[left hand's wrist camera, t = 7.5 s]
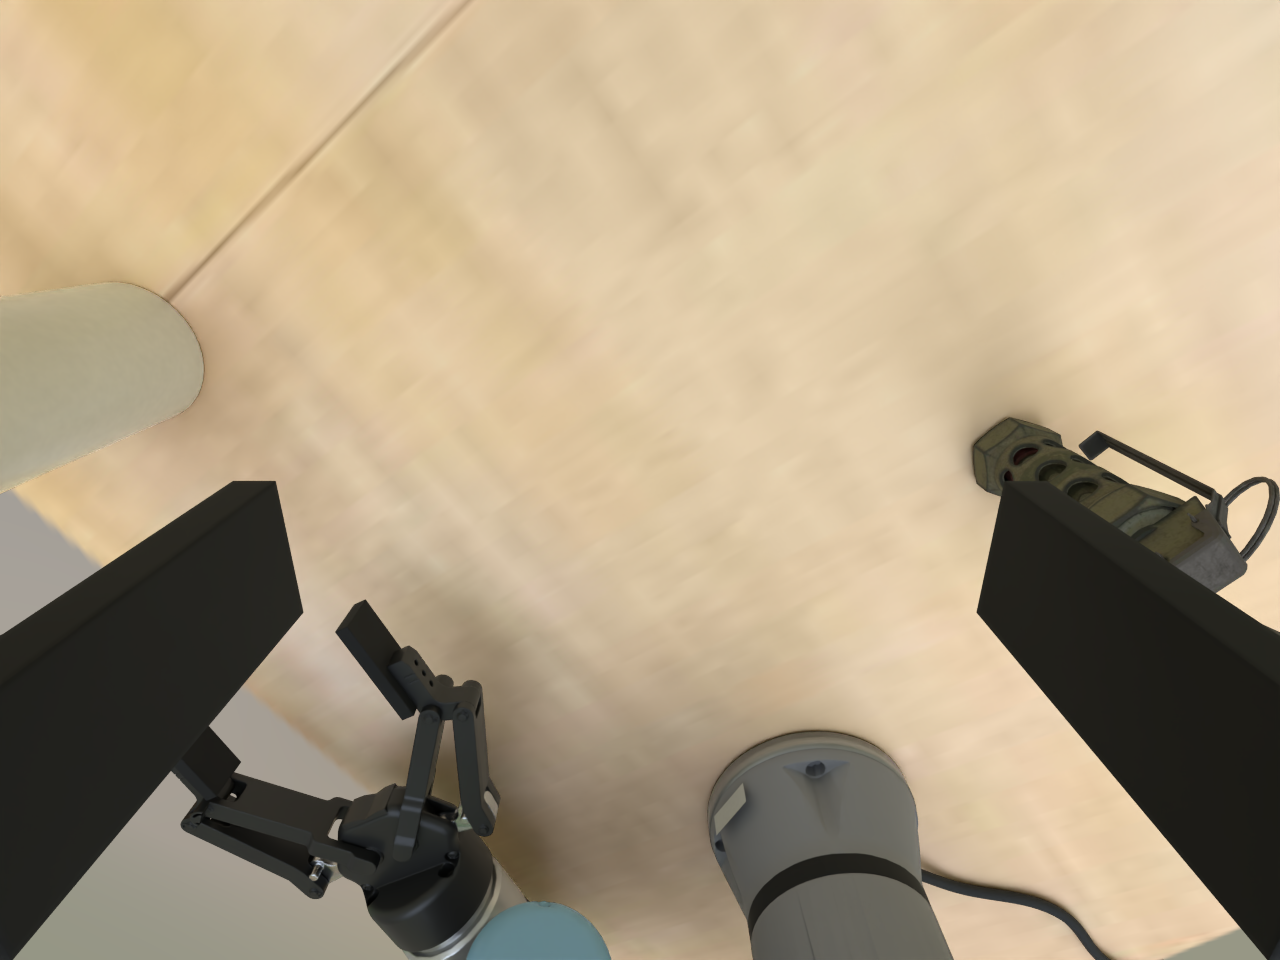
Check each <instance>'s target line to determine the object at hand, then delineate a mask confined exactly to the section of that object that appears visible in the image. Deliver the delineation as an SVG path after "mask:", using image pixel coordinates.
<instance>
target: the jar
mask: <svg viewBox="0 0 1280 960" xmlns="http://www.w3.org/2000/svg"><path fill="white" fill-rule="evenodd" d="M203 376H204V362H203V357H202V352H201V349H200V346H199V343H198V341H197V338H196V336H195V334H194V333H193V331H192V329H191V327H190V326H189V325H188V323H187V322H186V320H185V319H184V318H183V317H182V316H181V315H180V313H179V312H178V311H177V310H176V309H175V308H173V307H172V306H171V305H170V304H169V303H168V302H166V301H165V300H164V299H162V298H161V297H159V296H157V295H156V294H154V293H152V292H150V291H148V290H146V289H144V288H141V287H138V286H135V285H132V284H127V283H122V282H103V283H95V284H87V285H80V286H73V287H65V288H58V289H50V290H43V291H35V292H28V293H20V294H13V295H6V296H0V494H1V493H3V492H6V491H8V490H10V489H12V488H15V487H17V486H19V485H21V484H24V483H26V482H28V481H30V480H33V479H35V478H37V477H39V476H42V475H44V474H46V473H48V472H51V471H53V470H55V469H58V468H60V467H62V466H64V465H67V464H69V463H71V462H73V461H76V460H78V459H80V458H82V457H85V456H87V455H89V454H91V453H94V452H96V451H98V450H100V449H103V448H105V447H107V446H109V445H112V444H114V443H116V442H118V441H121V440H123V439H125V438H127V437H130V436H132V435H134V434H136V433H139V432H141V431H143V430H145V429H148V428H150V427H152V426H155V425H157V424H159V423H161V422H164V421H166V420H168V419H170V418H173V417H175V416H177V415H179V414H180V413H182V412H183V411H185V410H186V409H187V408H189V406H190V405H191V404H192V403H193V402H194V401H195V399H196V397H197V396H198V394H199V391H200V389H201V386H202V382H203Z"/></svg>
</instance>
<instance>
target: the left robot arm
mask: <svg viewBox="0 0 1280 960" xmlns="http://www.w3.org/2000/svg"><path fill="white" fill-rule="evenodd" d="M302 614H303V608H302V604H301V599H300V594H299V589H298V585H297V580H296V575H295V570H294V566H293V561H292V556H291V552H290V547H289V542H288V537H287V533H286V528H285V523H284V518H283V514H282V509H281V504H280V500H279V495H278V490H277V485H276V481H232V482H231V483H229V484H228V485H226V486H225V487H223V488H222V489H220V490H219V491H217V492H216V493H214V494H213V495H211V496H210V497H208V498H207V499H205V500H204V501H202V502H201V503H199V504H198V505H196V506H195V507H193V508H192V509H190V510H189V511H187V512H186V513H184V514H183V515H181V516H180V517H178V518H177V519H175V520H174V521H172V522H171V523H169V524H168V525H166V526H165V527H163V528H162V529H160V530H159V531H157V532H156V533H154V534H153V535H151V536H150V537H148V538H147V539H145V540H144V541H142V542H141V543H139V544H138V545H136V546H135V547H133V548H132V549H130V550H129V551H127V552H126V553H124V554H123V555H121V556H120V557H118V558H117V559H115V560H114V561H112V562H111V563H109V564H108V565H106V566H105V567H103V568H102V569H100V570H99V571H97V572H96V573H94V574H93V575H91V576H90V577H88V578H87V579H85V580H84V581H82V582H81V583H79V584H78V585H76V586H75V587H73V588H72V589H70V590H69V591H67V592H66V593H64V594H63V595H61V596H60V597H58V598H57V599H55V600H54V601H52V602H51V603H49V604H48V605H46V606H45V607H43V608H41V609H40V610H39V611H37V612H35V613H34V614H33V615H31V616H29V617H28V618H26V619H25V620H23V621H22V622H20V623H19V624H17V625H16V626H14V627H13V628H11V629H10V630H8V631H7V632H5V633H4V634H2V635H0V960H13V959H14V958H15V956H16V955H17V954H18V953H19V952H20V950H21V949H22V948H23V947H24V946H25V944H26V943H27V942H28V941H29V940H30V938H31V937H32V936H33V935H34V934H35V933H36V931H37V930H38V929H39V928H40V926H41V925H42V924H43V923H44V922H45V921H46V919H47V918H48V917H49V916H50V915H51V913H52V912H53V911H54V910H55V909H56V907H57V906H58V905H59V904H60V903H61V901H62V900H63V899H64V898H65V897H66V895H67V894H68V893H69V892H70V891H71V890H72V888H73V887H74V886H75V885H76V884H77V882H78V881H79V880H80V879H81V878H82V876H83V875H84V874H85V873H86V872H87V870H88V869H89V868H90V867H91V866H92V864H93V863H94V862H95V861H96V860H97V858H98V857H99V856H100V855H101V854H102V852H103V851H104V850H105V849H106V848H107V846H108V845H109V844H110V843H111V842H112V841H113V839H114V838H115V837H116V836H117V835H118V833H119V832H120V831H121V830H122V829H123V827H124V826H125V825H126V824H127V823H128V821H129V820H130V819H131V818H132V817H133V815H134V814H135V813H136V812H137V811H138V809H139V808H140V807H141V806H142V805H143V803H144V802H145V801H146V800H147V799H148V797H149V796H150V795H151V794H152V793H153V792H154V790H155V789H156V788H157V787H158V786H159V784H160V783H161V782H162V781H163V780H164V778H165V777H166V776H167V775H168V774H169V772H170V771H171V770H172V769H173V768H174V766H175V765H176V764H177V763H178V762H179V760H180V759H181V758H182V757H183V756H184V755H185V753H186V752H187V751H188V750H189V749H190V747H191V746H192V745H193V744H194V743H195V741H196V740H197V739H198V738H199V737H200V735H201V734H202V733H203V732H204V731H205V729H206V728H207V727H208V726H209V725H210V723H211V722H212V721H213V720H214V719H215V717H216V716H217V715H218V714H219V713H220V712H221V710H222V709H223V708H224V707H225V706H226V704H227V703H228V702H229V701H230V699H231V698H232V697H233V696H234V695H235V694H236V692H237V691H238V690H239V689H240V688H241V686H242V685H243V684H244V683H245V682H246V680H247V679H248V678H249V677H250V676H251V674H252V673H253V672H254V671H255V670H256V668H257V667H258V666H259V665H260V664H261V663H262V661H263V660H264V659H265V658H266V657H267V655H268V654H269V653H270V652H271V651H272V649H273V648H274V647H275V646H276V645H277V643H278V642H279V641H280V640H281V639H282V637H283V636H284V635H285V634H286V633H287V631H288V630H289V629H290V628H291V627H292V625H293V624H294V623H295V622H296V621H297V620H298V618H299V617H300V616H301V615H302ZM977 614H978V615H979V616H980V617H981V618H982V620H983V621H984V622H985V623H986V624H987V625H988V627H989V628H990V629H991V630H992V631H993V633H994V634H995V635H996V636H997V637H998V639H999V640H1000V641H1001V642H1002V643H1003V645H1004V646H1005V647H1006V648H1007V649H1008V651H1009V652H1010V653H1011V654H1012V655H1013V657H1014V658H1015V659H1016V660H1017V661H1018V663H1019V664H1020V665H1021V666H1022V667H1023V668H1024V670H1025V671H1026V672H1027V673H1028V674H1029V676H1030V677H1031V678H1032V679H1033V680H1034V682H1035V683H1036V684H1037V685H1038V686H1039V688H1040V689H1041V690H1042V691H1043V692H1044V694H1045V695H1046V696H1047V697H1048V698H1049V700H1050V701H1051V702H1052V703H1053V704H1054V706H1055V707H1056V708H1057V709H1058V710H1059V712H1060V713H1061V714H1062V715H1063V716H1064V717H1065V719H1066V720H1067V721H1068V722H1069V723H1070V725H1071V726H1072V727H1073V728H1074V729H1075V731H1076V732H1077V733H1078V734H1079V735H1080V737H1081V738H1082V739H1083V740H1084V741H1085V743H1086V744H1087V745H1088V746H1089V747H1090V749H1091V750H1092V751H1093V752H1094V753H1095V755H1096V756H1097V757H1098V758H1099V759H1100V760H1101V762H1102V763H1103V764H1104V765H1105V766H1106V768H1107V769H1108V770H1109V771H1110V772H1111V774H1112V775H1113V776H1114V777H1115V778H1116V780H1117V781H1118V782H1119V783H1120V784H1121V786H1122V787H1123V788H1124V789H1125V790H1126V792H1127V793H1128V794H1129V795H1130V796H1131V798H1132V799H1133V800H1134V801H1135V802H1136V803H1137V805H1138V806H1139V807H1140V808H1141V809H1142V811H1143V812H1144V813H1145V814H1146V815H1147V817H1148V818H1149V819H1150V820H1151V821H1152V823H1153V824H1154V825H1155V826H1156V827H1157V829H1158V830H1159V831H1160V832H1161V833H1162V835H1163V836H1164V837H1165V838H1166V839H1167V841H1168V842H1169V843H1170V844H1171V845H1172V847H1173V848H1174V849H1175V850H1176V851H1177V852H1178V854H1179V855H1180V856H1181V857H1182V858H1183V860H1184V861H1185V862H1186V863H1187V864H1188V866H1189V867H1190V868H1191V869H1192V870H1193V872H1194V873H1195V874H1196V875H1197V876H1198V878H1199V879H1200V880H1201V881H1202V882H1203V884H1204V885H1205V886H1206V887H1207V888H1208V890H1209V891H1210V892H1211V893H1212V894H1213V895H1214V897H1215V898H1216V899H1217V900H1218V901H1219V903H1220V904H1221V905H1222V906H1223V907H1224V909H1225V910H1226V911H1227V912H1228V913H1229V915H1230V916H1231V917H1232V918H1233V919H1234V921H1235V922H1236V923H1237V924H1238V925H1239V927H1240V928H1241V929H1242V930H1243V931H1244V933H1245V934H1246V935H1247V936H1248V937H1249V938H1250V940H1251V941H1252V942H1253V943H1254V944H1255V946H1256V947H1257V948H1258V949H1259V950H1260V952H1261V953H1262V954H1263V955H1264V956H1265V958H1266V959H1267V960H1280V632H1278V631H1276V630H1274V629H1271V628H1269V627H1267V626H1265V625H1263V624H1261V623H1260V622H1258V621H1257V620H1255V619H1254V618H1252V617H1251V616H1249V615H1248V614H1246V613H1245V612H1243V611H1242V610H1240V609H1239V608H1237V607H1235V606H1234V605H1232V604H1231V603H1229V602H1228V601H1226V600H1225V599H1223V598H1222V597H1220V596H1219V595H1217V594H1216V593H1214V592H1213V591H1211V590H1210V589H1208V588H1207V587H1205V586H1204V585H1202V584H1201V583H1199V582H1198V581H1196V580H1195V579H1193V578H1192V577H1190V576H1189V575H1187V574H1186V573H1184V572H1183V571H1181V570H1180V569H1178V568H1177V567H1175V566H1174V565H1172V564H1171V563H1169V562H1168V561H1166V560H1165V559H1163V558H1162V557H1160V556H1159V555H1157V554H1156V553H1154V552H1153V551H1151V550H1150V549H1148V548H1147V547H1145V546H1144V545H1142V544H1141V543H1139V542H1138V541H1136V540H1135V539H1133V538H1132V537H1130V536H1129V535H1127V534H1126V533H1124V532H1123V531H1121V530H1120V529H1118V528H1117V527H1115V526H1114V525H1112V524H1111V523H1109V522H1108V521H1106V520H1105V519H1103V518H1102V517H1100V516H1099V515H1097V514H1096V513H1094V512H1093V511H1091V510H1090V509H1088V508H1087V507H1085V506H1084V505H1082V504H1081V503H1079V502H1078V501H1076V500H1075V499H1073V498H1072V497H1070V496H1069V495H1067V494H1066V493H1064V492H1063V491H1061V490H1060V489H1058V488H1057V487H1055V486H1054V485H1052V484H1051V483H1049V482H1048V481H1004V485H1003V490H1002V495H1001V500H1000V504H999V509H998V514H997V518H996V523H995V528H994V533H993V537H992V542H991V547H990V552H989V556H988V561H987V566H986V570H985V575H984V580H983V585H982V589H981V594H980V599H979V604H978V608H977Z"/></svg>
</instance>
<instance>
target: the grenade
mask: <svg viewBox="0 0 1280 960" xmlns="http://www.w3.org/2000/svg"><path fill="white" fill-rule="evenodd" d="M1109 447H1110V448H1112V449H1113V450H1115V451H1117V452H1119V453H1121V454H1123V455H1125V456H1127V457H1129V458H1131V459H1133V460H1134V461H1136V462H1138V463H1140V464H1142V465H1144V466H1146V467H1148V468H1150V469H1152V470H1154V471H1155V472H1157V473H1159V474H1161V475H1163V476H1165V477H1167V478H1169V479H1171V480H1173V481H1174V482H1176V483H1178V484H1180V485H1182V486H1184V487H1186V488H1188V489H1190V490H1192V491H1194V492H1195V493H1197V494H1199V495H1201V496H1203V497H1205V498H1207V499H1209V500H1211V503H1209V504H1208V505H1207V504H1206V505H1205V507H1206V509H1205V507H1204V506H1203V505H1202V503H1201V502H1200V501H1199V499H1198V498H1197V496H1194V497H1192V498H1191V499H1189V500H1188V501H1186V502H1185V501H1183V500H1181V499H1179V498H1177V497H1174V496H1171V495H1168V494H1165V493H1162V492H1159V491H1155V490H1152V489H1149V488H1145V487H1141V486H1137V485H1132V484H1129V483H1127V482H1126V481H1124V480H1123V479H1121V478H1119V477H1118V476H1116V475H1114V474H1112V473H1111V472H1109V471H1107V470H1105V469H1103V468H1101V467H1099V466H1096V465H1095V464H1094V463H1092V462H1090V461H1089V460H1093V459H1094V458H1095V457H1097V456H1098V455H1099V454H1101V453H1102V452H1103V451H1105V450H1106V449H1107V448H1109ZM1079 448H1080V449H1081V450H1082V451H1083V453H1084V454H1085V455H1086V456H1087V458H1088V459H1089V460H1087V459H1085V458H1084V457H1082V456H1080V455H1078V454H1076V453H1075V452H1073V451H1071V450H1068V449H1066V448H1065V447H1063V445H1062V440H1061V435H1060V434H1058V433H1056V432H1054V431H1052V430H1050V429H1048V428H1045V427H1042V426H1039V425H1036V424H1033V423H1029V422H1026V421H1022V420H1018V419H1014V418H1008V419H1006V420H1005V421H1003V422H1001V423H1000V424H998V425H997V426H995V427H994V428H993V429H991V430H990V431H989V432H988V433H986V434H985V435H984V436H983V437H982V438H981V439H980V440H979V441H978V442H977V443H976V444H975V445H974V450H973V462H974V471H975V477H976V483H977V484H978V485H979V486H980V487H981V488H983V489H984V490H985V491H986V492H989V493H992V494H995V495H998V496H1001V495H1002V490H1003V485H1004V481H1048V482H1049V483H1051V484H1052V485H1054V486H1055V487H1057V488H1058V489H1060V490H1061V491H1063V492H1064V493H1066V494H1067V495H1069V496H1070V497H1072V498H1073V499H1075V500H1076V501H1078V502H1079V503H1081V504H1082V505H1084V506H1085V507H1087V508H1088V509H1090V510H1091V511H1093V512H1094V513H1096V514H1097V515H1099V516H1100V517H1102V518H1103V519H1105V520H1106V521H1108V522H1109V523H1111V524H1112V525H1114V526H1115V527H1117V528H1118V529H1120V530H1121V531H1123V532H1124V533H1126V534H1127V535H1129V536H1130V537H1132V538H1133V539H1135V540H1136V541H1138V542H1139V543H1141V544H1142V545H1144V546H1145V547H1147V548H1148V549H1150V550H1151V551H1153V552H1154V553H1156V554H1157V555H1159V556H1160V557H1162V558H1163V559H1165V560H1166V561H1168V562H1169V563H1171V564H1172V565H1174V566H1175V567H1177V568H1178V569H1180V570H1181V571H1183V572H1184V573H1186V574H1187V575H1189V576H1190V577H1192V578H1193V579H1195V580H1196V581H1198V582H1199V583H1201V584H1202V585H1204V586H1205V587H1207V588H1208V589H1210V590H1211V591H1213V592H1214V593H1217V592H1218V591H1220V590H1221V589H1223V588H1224V587H1226V586H1227V585H1229V584H1230V583H1232V582H1233V581H1235V580H1236V579H1238V578H1239V577H1241V576H1243V575H1244V574H1245V572H1246V570H1247V563H1246V561H1247V560H1248V559H1249V558H1250V557H1251V555H1252V554H1253V553H1254V552H1255V550H1256V549H1257V548H1258V547H1259V545H1260V544H1261V542H1262V541H1263V539H1264V537H1265V536H1266V534H1267V533H1268V531H1269V529H1270V527H1271V525H1272V523H1273V520H1274V518H1275V516H1276V514H1277V510H1278V505H1279V501H1280V494H1279V487H1278V486H1277V484H1276V483H1275V482H1274V481H1273V480H1271V479H1268V478H1266V477H1254V478H1251V479H1249V480H1247V481H1244V482H1243V483H1241V484H1240V485H1239V486H1237V487H1236V488H1234V489H1233V490H1232V491H1231V492H1230V493H1229V494H1228V495H1227V496H1226V497H1224V498H1223V497H1222V495H1220V494H1218V493H1217V492H1216V491H1215V490H1214V489H1213V488H1211V487H1209V486H1207V485H1205V484H1203V483H1201V482H1199V481H1197V480H1195V479H1193V478H1191V477H1189V476H1187V475H1185V474H1183V473H1181V472H1179V471H1177V470H1175V469H1173V468H1171V467H1169V466H1167V465H1165V464H1163V463H1161V462H1159V461H1157V460H1155V459H1153V458H1151V457H1149V456H1147V455H1145V454H1143V453H1141V452H1139V451H1137V450H1135V449H1133V448H1131V447H1129V446H1127V445H1125V444H1123V443H1121V442H1119V441H1117V440H1115V439H1113V438H1111V437H1109V436H1107V435H1106V434H1104V433H1102V432H1100V431H1096V432H1095V433H1093V434H1092V435H1091V436H1089V437H1088V438H1087V439H1086V440H1084V441H1083V442H1082V443H1081V444H1079ZM1261 482H1266V483H1267V485H1268V486H1269V500H1268V505H1267V508H1266V511H1265V514H1264V517H1263V519H1262V521H1261V523H1260V524H1259V526H1258V528H1257V530H1256V532H1255V534H1254V535H1253V537H1252V538H1251V539H1250V541H1249V542H1248V544H1247V545H1246V546H1245V548H1244V549H1243V550H1242V551H1241V552H1240V553H1239V552H1238V550H1237V549H1236V547H1235V546H1234V544H1233V543H1232V541H1231V540H1230V538H1231V536H1230V535H1229V532H1228V527H1227V514H1228V508H1227V507H1228V506H1229V504H1230V503H1232V502H1233V501H1234V500H1235V499H1236V498H1237V497H1238V496H1239V495H1240V494H1241V493H1243V492H1244V491H1246V490H1247V489H1249V488H1250V487H1251V486H1254V485H1256V484H1259V483H1261ZM1229 498H1230V499H1229ZM1228 499H1229V500H1228ZM1227 500H1228V501H1227ZM1226 501H1227V502H1226ZM1271 510H1272V511H1271ZM1270 513H1271V514H1270ZM1262 530H1263V531H1262ZM1259 535H1260V536H1259Z"/></svg>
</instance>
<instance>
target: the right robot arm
mask: <svg viewBox="0 0 1280 960" xmlns="http://www.w3.org/2000/svg"><path fill="white" fill-rule="evenodd" d="M336 634H337V635H338V636H339V638H340V639H341V640H342V642H343V643H344V644H345V646H346V647H347V648H348V649H349V651H350V652H351V653H352V655H353V656H354V657H355V659H356V660H357V661H358V663H359V664H360V665H361V667H362V668H363V669H364V670H365V672H366V673H367V674H368V676H369V677H370V678H371V680H372V681H373V682H374V684H375V685H376V686H377V688H378V689H379V690H380V691H381V693H382V694H383V695H384V697H385V698H386V699H387V701H388V702H389V703H390V705H391V706H392V707H393V709H394V710H395V711H396V712H397V714H398V715H399V716H400V718H401V719H402V720H404V719H406V718H409V717H411V716H414V714H415V711H416V709H417V710H418V711H419V712H420V715H419V718H418V724H417V729H416V735H415V740H414V746H413V751H412V757H411V762H410V768H409V773H408V779H407V784H406V787H405V786H397V785H396V783H394V784H392V785H389V786H387V787H385V788H383V789H382V790H381V791H379V792H378V793H376V794H371V795H364V796H362V797H359V798H357V799H354V801H350V800H346V799H343V798H340V797H335V798H333V799H331V800H328V801H327V800H323V799H320V798H317V797H313V796H310V795H307V794H303V793H300V792H297V791H294V790H290V789H287V788H284V787H281V786H277V785H274V784H271V783H267V782H264V781H261V780H258V779H254V778H251V777H248V776H245V775H241V774H238V773H235V772H234V771H235V770H236V768H237V767H238V766H239V764H240V763H241V761H240V760H239V759H238V758H237V757H236V756H235V755H234V754H233V752H232V751H231V750H230V749H229V748H228V747H227V746H226V745H225V744H224V743H223V741H222V740H221V739H220V738H219V737H218V736H217V735H216V734H215V733H214V731H213V730H212V729H211V728H210V727H209V726H208V727H207V728H206V729H205V731H204V732H203V733H202V734H201V735H200V737H199V738H198V739H197V740H196V741H195V743H194V744H193V745H192V746H191V747H190V749H189V750H188V751H187V752H186V753H185V755H184V756H183V757H182V758H181V759H180V760H179V762H178V763H177V764H176V765H175V766H174V768H173V769H172V770H171V771H172V772H173V773H174V774H176V776H177V777H178V778H179V779H180V780H181V781H182V783H183V784H184V785H185V786H186V787H187V788H188V789H189V790H190V791H191V792H192V793H193V794H194V795H195V797H196V799H197V801H196V803H195V804H194V805H193V807H192V808H191V809H190V811H189V812H188V813H187V815H186V816H185V818H184V819H183V820H182V822H181V828H182V829H183V830H184V831H186V832H188V833H190V834H192V835H194V836H196V837H198V838H200V839H202V840H205V841H207V842H209V843H211V844H213V845H215V846H217V847H219V848H221V849H224V850H226V851H228V852H230V853H232V854H234V855H236V856H238V857H240V858H243V859H245V860H247V861H249V862H251V863H253V864H255V865H257V866H260V867H262V868H264V869H266V870H268V871H270V872H272V873H274V874H276V875H279V876H281V877H283V878H285V879H287V880H289V881H290V882H292V883H293V884H294V885H295V886H296V887H297V888H298V889H300V890H301V891H302V892H303V893H304V894H305V895H307V896H308V897H310V898H312V899H319V898H321V897H323V895H324V893H325V891H326V888H327V886H328V884H329V883H331V882H333V881H335V880H337V879H339V878H341V877H345V878H347V879H349V880H351V881H353V882H355V883H357V884H358V885H360V886H361V888H362V890H363V892H364V896H365V900H366V904H367V908H368V911H369V914H370V916H371V917H372V919H373V920H374V921H375V922H376V923H377V924H378V925H379V926H380V928H381V929H382V930H383V931H384V932H385V933H386V934H387V935H388V936H389V937H390V939H391V940H392V941H393V942H394V943H395V944H396V945H397V946H398V947H399V948H400V949H402V950H403V952H404V953H405V955H406V956H407V958H408V959H409V960H611V957H610V954H609V951H608V949H607V946H606V944H605V942H604V940H603V938H602V937H601V935H600V934H599V932H598V931H597V929H596V928H595V927H594V926H593V925H592V923H591V922H590V921H589V920H587V919H586V918H585V917H584V916H583V915H581V914H580V913H578V912H577V911H575V910H573V909H571V908H570V907H567V906H564V905H562V904H558V903H552V902H546V901H542V902H535V901H533V902H529V901H528V900H527V899H526V898H525V896H524V895H523V893H522V892H521V890H520V889H519V888H518V887H517V885H516V884H515V883H514V881H513V880H512V879H511V877H510V876H509V875H508V874H507V872H506V871H505V870H504V868H503V867H502V866H501V865H500V863H499V862H498V861H497V859H496V858H494V857H493V856H492V854H491V852H490V850H489V848H488V847H487V846H486V845H485V843H484V842H483V841H482V839H481V838H480V837H479V836H483V837H485V836H489V835H491V834H492V833H493V830H494V825H495V821H496V817H497V812H498V807H499V802H500V795H499V793H498V792H497V790H496V788H495V786H494V784H493V783H492V781H491V779H490V777H489V768H488V755H487V743H486V730H485V718H484V706H483V693H482V687H481V685H480V683H479V682H477V681H474V680H468V681H466V682H464V683H463V685H462V686H457V687H453V680H452V678H450V677H449V676H447V675H439V676H437V677H435V676H434V674H433V673H432V671H431V670H430V669H429V667H428V666H427V664H425V662H424V660H423V659H422V658H421V656H420V655H419V653H418V652H417V651H416V650H415V649H413V648H412V647H410V646H407V647H404V648H402V649H401V648H400V646H399V645H398V643H397V642H396V641H395V639H394V638H393V637H392V635H391V634H390V632H389V631H388V630H387V628H386V627H385V626H384V624H383V623H382V621H381V620H380V619H379V617H378V616H377V615H376V613H375V612H374V610H373V609H372V608H371V606H370V605H369V604H368V602H367V601H366V600H363V601H361V602H359V603H357V604H354V606H353V607H352V609H351V610H350V612H349V613H348V614H347V616H346V617H345V619H344V620H343V622H342V623H341V624H340V626H339V627H338V629H337V630H336ZM445 720H453V730H454V740H455V749H456V759H457V769H458V779H459V788H460V798H461V800H460V803H459V807H458V808H457V807H456V806H455V805H454V804H452V803H449V802H447V801H444V800H441V799H439V798H436V797H433V796H431V792H432V787H433V782H434V777H435V772H436V768H435V767H436V763H437V758H438V753H439V748H440V743H441V738H442V733H443V728H444V723H445ZM231 793H234V794H235V795H236V796H237V798H235V797H233V796H231V795H230V794H231ZM210 818H211V819H210ZM337 819H342V822H341V824H340V826H339V830H338V841H337V840H334V839H331V838H329V837H328V834H329V832H330V830H331V828H332V826H333V824H334V822H335V820H337ZM708 825H709V834H710V841H711V845H712V849H713V852H714V854H715V857H716V859H717V861H718V863H719V865H720V867H721V870H722V872H723V874H724V876H725V878H726V880H727V882H728V884H729V885H730V887H731V889H732V891H733V893H734V895H735V897H736V899H737V901H738V903H739V905H740V907H741V909H742V911H743V913H744V915H745V917H746V919H747V922H748V928H749V935H750V941H751V949H752V956H753V960H954V959H953V957H952V954H951V952H950V950H949V947H948V945H947V942H946V940H945V938H944V935H943V933H942V931H941V928H940V926H939V924H938V921H937V919H936V916H935V914H934V912H933V910H932V907H931V905H930V902H929V900H928V898H927V895H926V893H925V890H924V888H923V885H922V882H925V883H928V884H931V885H934V886H936V887H939V888H942V889H945V890H948V891H952V892H955V893H959V894H963V895H967V896H972V897H977V898H983V899H989V900H996V901H1002V902H1009V903H1014V904H1020V905H1024V906H1028V907H1032V908H1035V909H1039V910H1041V911H1044V912H1047V913H1049V914H1051V915H1053V916H1055V917H1057V918H1059V919H1060V920H1062V921H1063V922H1065V923H1066V924H1067V925H1068V926H1069V927H1070V928H1071V929H1072V930H1073V932H1074V933H1075V934H1076V935H1077V937H1078V938H1079V940H1080V941H1081V942H1082V944H1083V945H1084V947H1085V948H1086V949H1087V951H1088V952H1089V953H1090V954H1091V955H1092V956H1093V958H1094V959H1095V960H1110V959H1109V958H1108V957H1106V956H1105V955H1104V954H1103V953H1102V952H1101V951H1100V950H1099V949H1098V948H1097V946H1096V945H1095V944H1094V942H1093V941H1092V940H1091V938H1090V937H1089V935H1088V934H1087V932H1086V931H1085V930H1084V928H1083V927H1082V926H1081V925H1080V923H1079V922H1078V921H1077V920H1076V919H1075V918H1074V917H1072V916H1071V915H1070V914H1069V913H1067V912H1066V911H1064V910H1063V909H1061V908H1060V907H1058V906H1056V905H1054V904H1052V903H1050V902H1048V901H1045V900H1043V899H1040V898H1037V897H1034V896H1030V895H1026V894H1022V893H1017V892H1011V891H1005V890H999V889H992V888H986V887H980V886H974V885H970V884H965V883H961V882H957V881H954V880H951V879H947V878H944V877H942V876H939V875H936V874H933V873H931V872H928V871H925V870H922V869H921V860H920V848H919V838H918V817H917V811H916V805H915V801H914V798H913V796H912V793H911V791H910V789H909V787H908V785H907V782H906V780H905V778H904V776H903V774H902V772H901V771H900V769H899V767H898V766H897V765H896V764H895V762H894V761H893V760H892V759H891V758H890V757H889V756H888V755H887V754H885V753H884V752H883V751H882V750H880V749H879V748H877V747H875V746H874V745H872V744H870V743H868V742H866V741H863V740H861V739H858V738H856V737H852V736H849V735H844V734H840V733H832V732H803V733H795V734H790V735H785V736H782V737H778V738H775V739H772V740H769V741H767V742H764V743H762V744H760V745H758V746H756V747H754V748H752V749H750V750H749V751H747V752H746V753H744V754H743V755H741V756H740V757H739V758H738V759H736V760H735V761H734V762H733V763H732V764H731V765H730V766H729V767H728V768H727V769H726V770H725V771H724V772H723V774H722V775H721V776H720V778H719V779H718V781H717V783H716V784H715V786H714V788H713V791H712V793H711V796H710V800H709V804H708ZM1162 960H1164V959H1162Z"/></svg>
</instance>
